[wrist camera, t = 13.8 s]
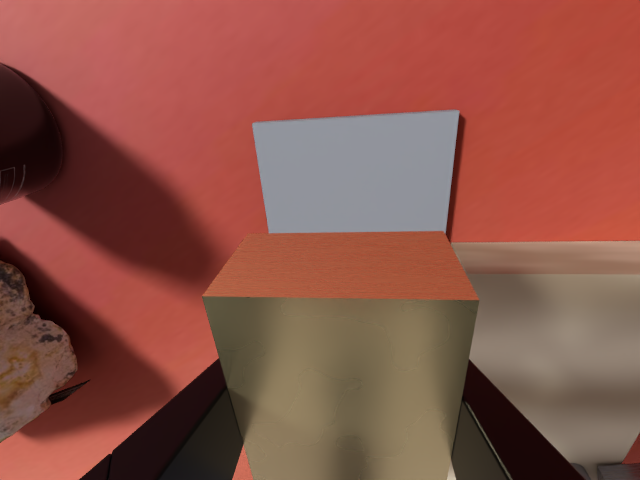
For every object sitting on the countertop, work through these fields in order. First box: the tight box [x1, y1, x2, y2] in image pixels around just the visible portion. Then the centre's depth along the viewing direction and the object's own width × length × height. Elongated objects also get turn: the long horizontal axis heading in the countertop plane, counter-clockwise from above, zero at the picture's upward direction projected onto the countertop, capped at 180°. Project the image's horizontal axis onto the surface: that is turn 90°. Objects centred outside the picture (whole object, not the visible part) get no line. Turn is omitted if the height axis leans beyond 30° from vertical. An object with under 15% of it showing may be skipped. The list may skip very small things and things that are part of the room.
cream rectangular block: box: [447, 241, 640, 480], centre depth 17 cm, size 16×10×6 cm, turn 4°
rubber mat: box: [252, 110, 459, 233], centre depth 16 cm, size 9×9×1 cm
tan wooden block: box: [202, 231, 479, 480], centre depth 8 cm, size 6×4×2 cm
